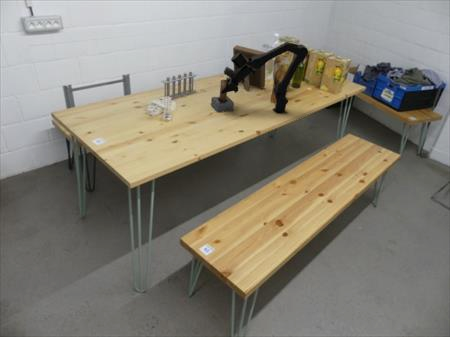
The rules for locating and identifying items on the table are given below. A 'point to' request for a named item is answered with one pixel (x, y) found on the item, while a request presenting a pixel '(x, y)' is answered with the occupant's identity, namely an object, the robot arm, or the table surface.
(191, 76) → the test tube rack
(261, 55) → the robot arm
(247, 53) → the photo frame
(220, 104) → the bore block
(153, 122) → the table surface
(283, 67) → the pancake mix bag
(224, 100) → the walnut pin
